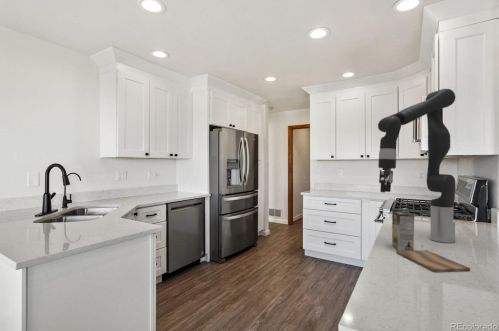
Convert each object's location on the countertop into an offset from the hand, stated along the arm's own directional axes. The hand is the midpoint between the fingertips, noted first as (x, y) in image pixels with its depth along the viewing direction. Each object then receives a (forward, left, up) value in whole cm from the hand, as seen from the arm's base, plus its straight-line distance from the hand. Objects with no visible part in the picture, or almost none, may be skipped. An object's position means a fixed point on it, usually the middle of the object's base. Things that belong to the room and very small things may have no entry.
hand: (385, 192), depth 127 cm
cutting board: (-2, +25, -25) cm, 35 cm away
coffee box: (-2, +9, -25) cm, 27 cm away
